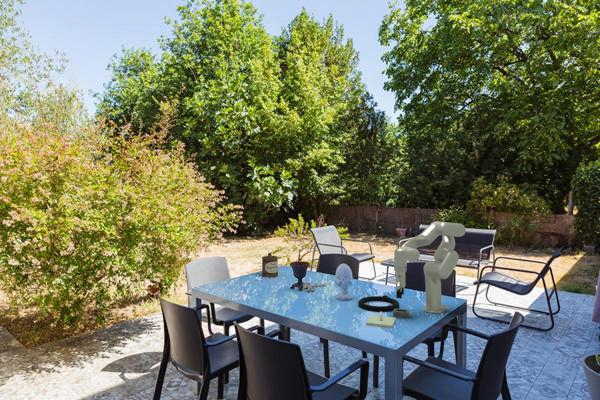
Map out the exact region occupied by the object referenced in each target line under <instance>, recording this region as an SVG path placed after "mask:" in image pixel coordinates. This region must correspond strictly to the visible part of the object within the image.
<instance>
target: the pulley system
mask: <svg viewBox="0 0 600 400" xmlns="http://www.w3.org/2000/svg"><path fill="white" fill-rule="evenodd" d="M325 287H327V284H325V283H321V284H319V283H314V285H311V283H310V282H305V283H303V284H302V289H306V290H305V291H306V292H307V293H310V292H315V288H325ZM307 288H308V289H307Z"/></svg>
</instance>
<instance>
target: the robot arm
mask: <svg viewBox="0 0 600 400" xmlns="http://www.w3.org/2000/svg"><path fill="white" fill-rule="evenodd" d="M465 234H466V227H465V226H464V224H462V223H456V222H446V221H438V220H437V221H436V220H435V221H433V222H431V223H430V224H429V225H427V227H426V228H425V229H424V230H423V231H421V233H420V234H418V235H416V236H414V237H412V238H410V239H408V240H407V241H406V242H405V243H404V244H402V245H401V247H400V248H399V247H398V248H395V249H394V250H393V251H394V254H393V255H394V256H393V257H394V259H393V260H394V261H393V267H394V268H393V272H395V287H396V292H395V293H396V295H395V297H396V298H395V299H402V298H403V296H404V294H405V287H406V285H407V284H406V283H407V282H406V272H407V271H408V268H407V266H408V264H407V263H408V261H417V260H419V259H420V257H421V253H420V251H419V250H418V248H420V247H426V246H430V245H431V244H432V243H433V242H434V241H435V240H436V239H437V238H438V237H439V236H442V240H441V242H440V244H439V246H438V247H437V249H436V250H435V253H434V254H433V258H434V260H435V261H433V260H432V261H431V260H430V261H427V262H425V264H424V265H423V273H424V274H423V275H424V282H425V306H423V307H422V311H424V312H426V313H430V314H442V313H444V312H445V310H448V311H449V308H450V306H447V305H443V303H442V282H441V280H446V279H448V278H449V277H450V276H451V274H452V272H454V271H453V270H454V269H455V268H456V267H457V265H458V262H459V254H458V252H457V251H456V250H454V249H455V247H456V240H455V237H456V238H457V237H458V238H459V237H460V238H461V237H463V236H464V235H465Z"/></svg>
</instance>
